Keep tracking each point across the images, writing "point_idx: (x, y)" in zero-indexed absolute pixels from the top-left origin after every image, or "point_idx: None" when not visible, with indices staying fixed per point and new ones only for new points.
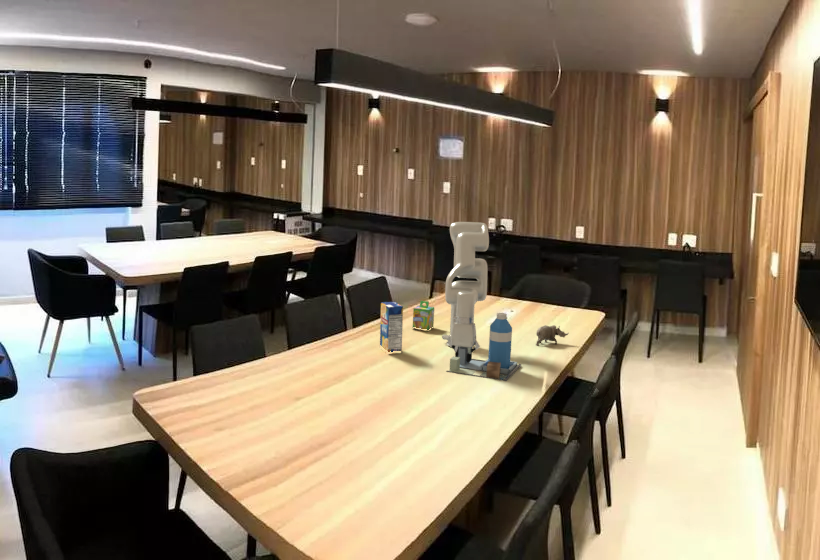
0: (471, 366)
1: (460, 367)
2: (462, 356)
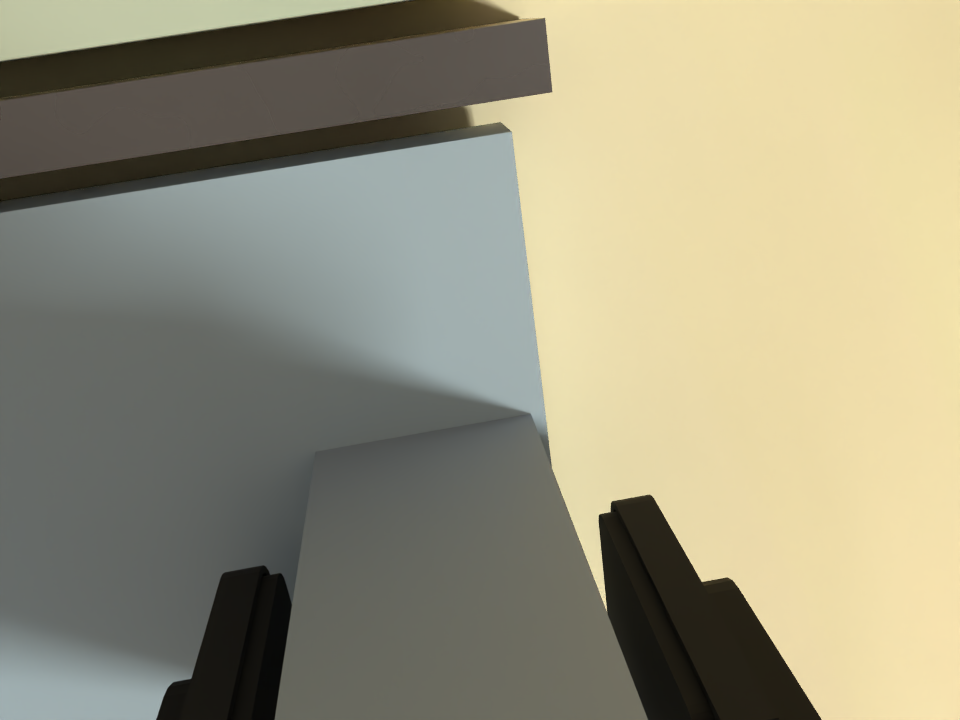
0: (55, 458)
1: (231, 77)
2: (399, 614)
